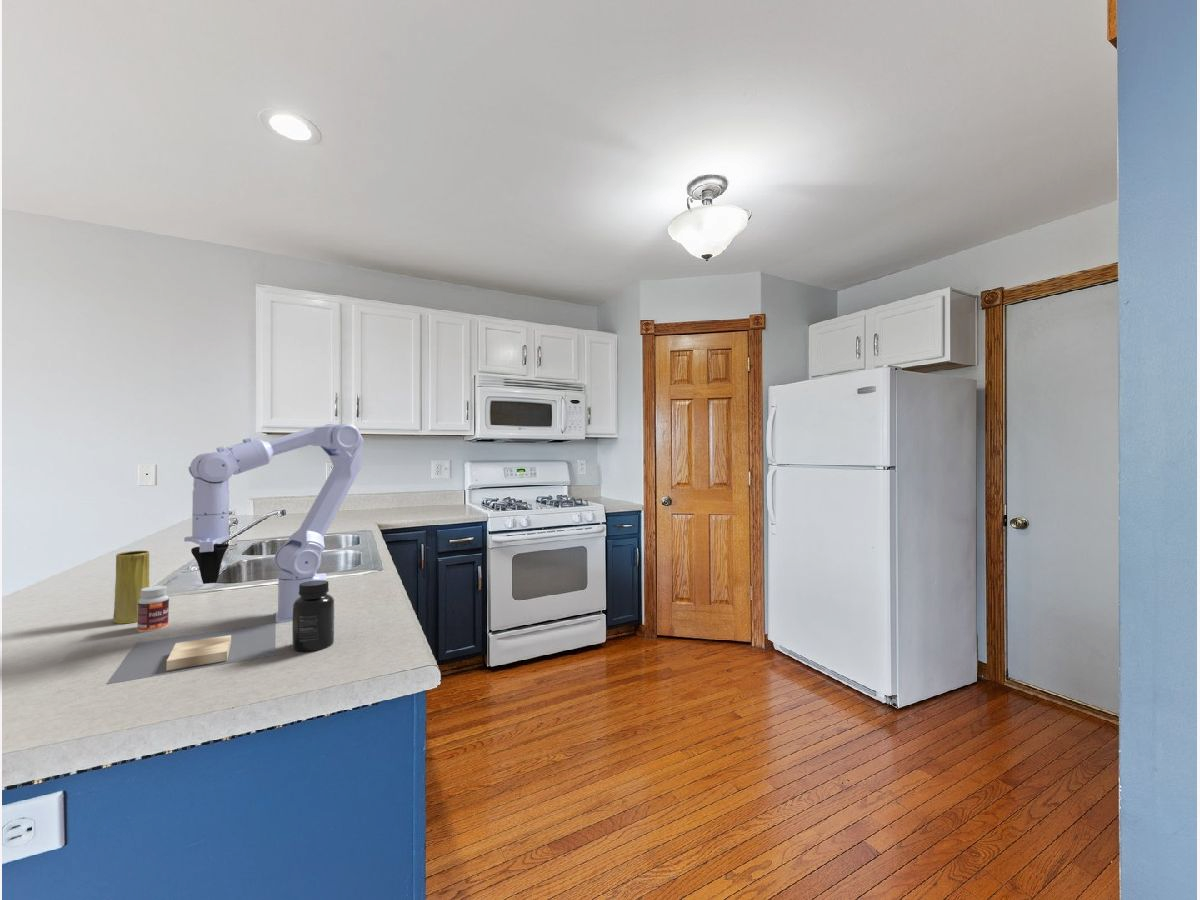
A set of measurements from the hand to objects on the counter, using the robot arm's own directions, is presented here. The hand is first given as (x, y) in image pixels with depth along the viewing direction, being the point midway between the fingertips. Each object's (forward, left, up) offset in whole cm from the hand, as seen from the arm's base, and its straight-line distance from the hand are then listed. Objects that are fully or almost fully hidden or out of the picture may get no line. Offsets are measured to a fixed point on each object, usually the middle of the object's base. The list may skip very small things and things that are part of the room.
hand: (210, 582), depth 101 cm
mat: (0, +9, -10) cm, 14 cm away
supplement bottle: (-17, +17, -11) cm, 26 cm away
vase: (+15, -20, -11) cm, 27 cm away
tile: (0, +9, -9) cm, 13 cm away
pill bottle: (+10, -10, -11) cm, 18 cm away
